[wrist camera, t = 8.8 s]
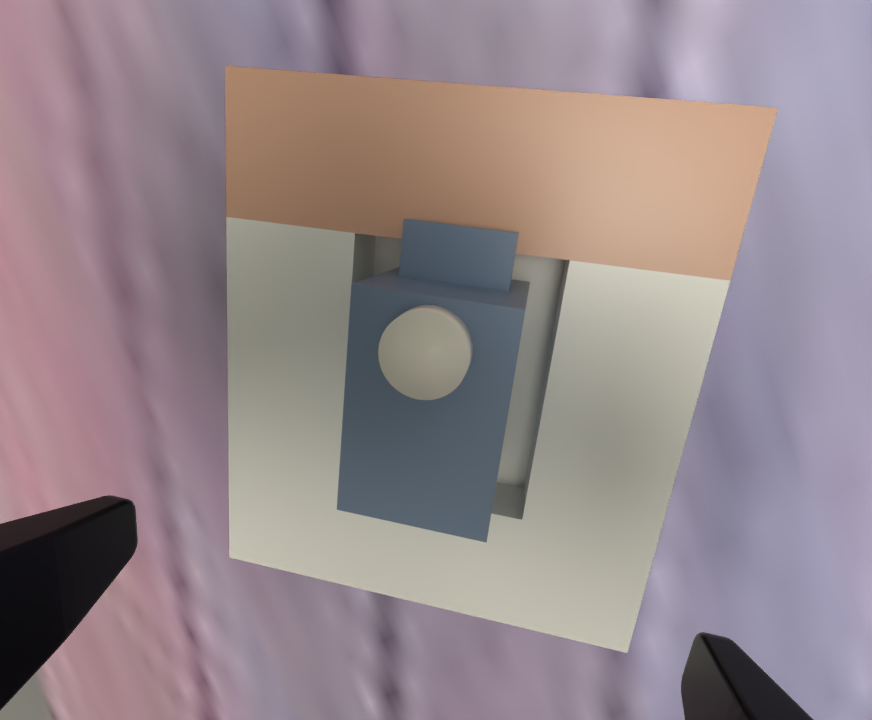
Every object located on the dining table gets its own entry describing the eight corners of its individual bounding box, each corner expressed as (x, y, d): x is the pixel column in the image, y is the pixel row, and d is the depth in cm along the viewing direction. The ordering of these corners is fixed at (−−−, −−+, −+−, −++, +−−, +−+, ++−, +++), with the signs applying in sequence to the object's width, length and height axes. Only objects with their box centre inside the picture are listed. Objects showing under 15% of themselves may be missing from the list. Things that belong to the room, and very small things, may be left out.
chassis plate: (614, 588, 19) (627, 652, 16) (270, 512, 21) (229, 557, 19) (732, 128, 15) (777, 107, 12) (278, 91, 17) (224, 65, 14)
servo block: (494, 493, 18) (474, 613, 13) (386, 471, 19) (321, 577, 13) (538, 232, 15) (536, 240, 10) (410, 216, 16) (342, 216, 11)
